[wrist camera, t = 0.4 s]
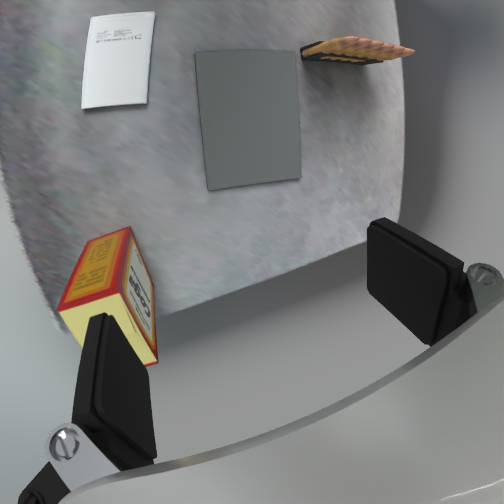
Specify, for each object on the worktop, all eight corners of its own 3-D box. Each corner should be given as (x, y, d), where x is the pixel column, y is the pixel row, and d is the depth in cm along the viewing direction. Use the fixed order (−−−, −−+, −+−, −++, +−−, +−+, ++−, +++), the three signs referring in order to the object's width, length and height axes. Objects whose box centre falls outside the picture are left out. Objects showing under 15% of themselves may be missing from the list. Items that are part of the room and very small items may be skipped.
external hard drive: (83, 109, 29) (92, 20, 24) (147, 104, 31) (155, 15, 26) (80, 109, 27) (90, 16, 22) (146, 103, 30) (155, 10, 25)
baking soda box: (153, 285, 41) (158, 365, 27) (114, 298, 40) (104, 380, 26) (130, 226, 36) (117, 291, 23) (87, 241, 35) (56, 311, 21)
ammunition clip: (301, 60, 33) (352, 44, 23) (299, 48, 33) (350, 29, 22) (363, 65, 36) (420, 59, 25) (361, 54, 35) (418, 46, 25)
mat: (194, 53, 30) (195, 52, 29) (292, 52, 33) (294, 51, 32) (207, 189, 38) (208, 190, 37) (299, 177, 41) (301, 177, 40)
